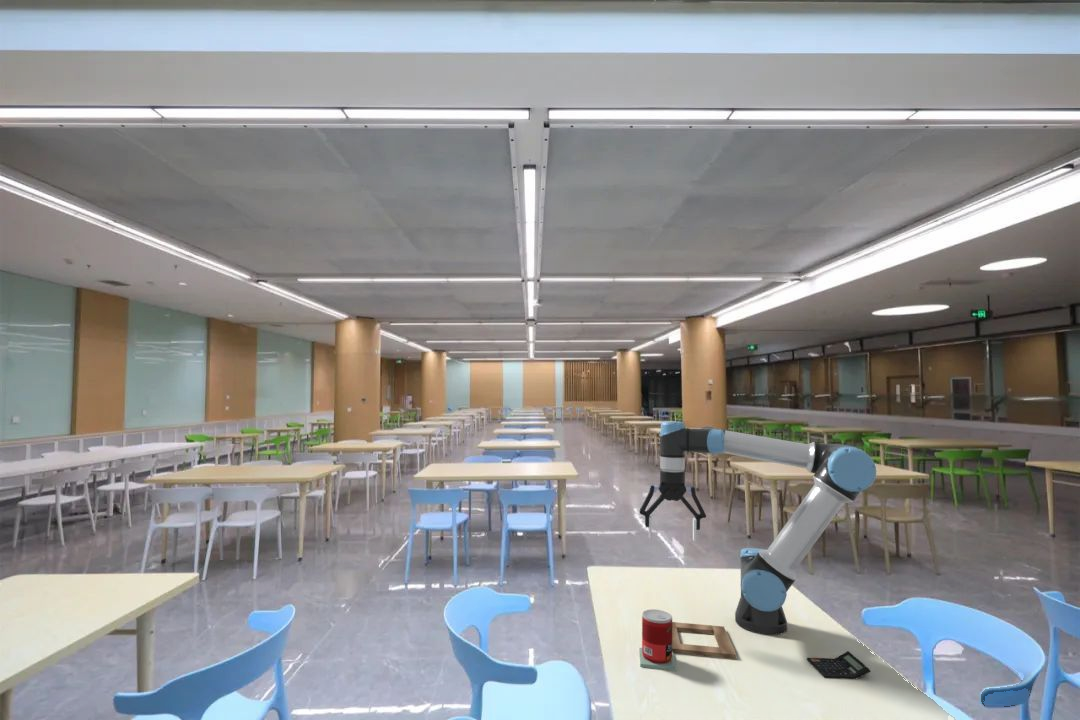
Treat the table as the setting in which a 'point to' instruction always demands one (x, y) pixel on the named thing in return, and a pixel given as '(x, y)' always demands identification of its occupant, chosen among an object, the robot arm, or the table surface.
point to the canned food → (657, 636)
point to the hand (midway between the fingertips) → (672, 539)
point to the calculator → (840, 666)
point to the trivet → (648, 664)
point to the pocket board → (721, 652)
